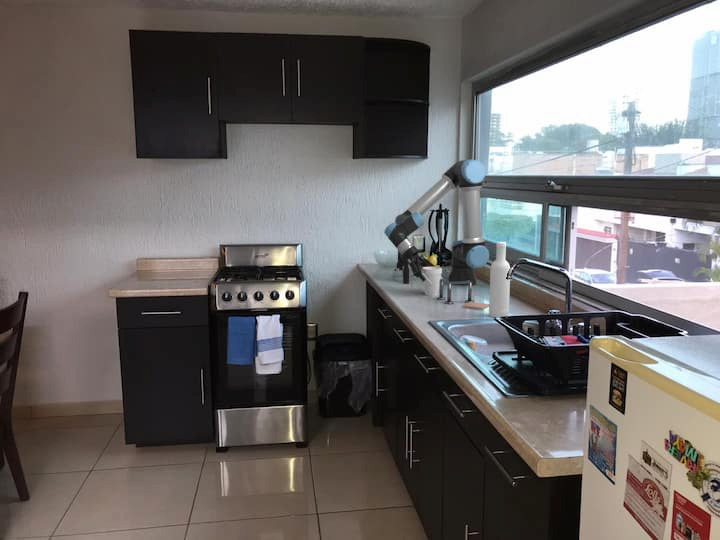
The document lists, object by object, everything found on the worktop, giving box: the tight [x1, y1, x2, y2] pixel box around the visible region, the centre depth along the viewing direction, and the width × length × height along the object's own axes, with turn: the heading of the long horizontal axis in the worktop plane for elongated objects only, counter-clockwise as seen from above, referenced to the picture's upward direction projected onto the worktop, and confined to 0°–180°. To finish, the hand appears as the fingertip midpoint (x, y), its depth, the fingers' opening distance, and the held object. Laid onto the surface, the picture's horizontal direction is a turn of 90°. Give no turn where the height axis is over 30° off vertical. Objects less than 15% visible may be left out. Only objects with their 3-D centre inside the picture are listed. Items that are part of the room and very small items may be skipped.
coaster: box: [461, 301, 489, 311], centre depth 253 cm, size 9×9×1 cm
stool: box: [387, 249, 418, 285], centre depth 321 cm, size 16×21×33 cm
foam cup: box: [421, 266, 443, 297], centre depth 279 cm, size 10×9×13 cm
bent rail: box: [436, 278, 475, 305], centre depth 263 cm, size 11×18×10 cm, turn 58°
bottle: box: [488, 241, 511, 319], centre depth 234 cm, size 8×8×30 cm
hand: (435, 283), depth 278 cm, fingers open, 13 cm apart
